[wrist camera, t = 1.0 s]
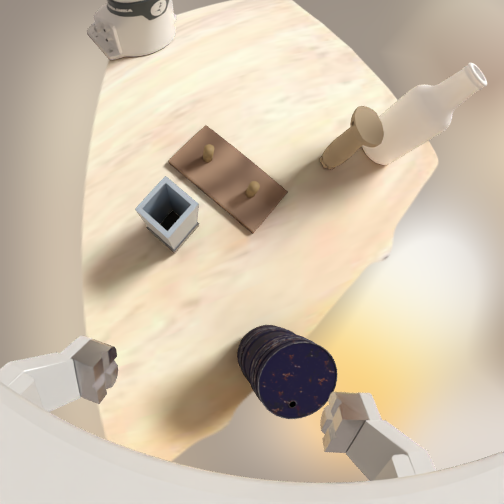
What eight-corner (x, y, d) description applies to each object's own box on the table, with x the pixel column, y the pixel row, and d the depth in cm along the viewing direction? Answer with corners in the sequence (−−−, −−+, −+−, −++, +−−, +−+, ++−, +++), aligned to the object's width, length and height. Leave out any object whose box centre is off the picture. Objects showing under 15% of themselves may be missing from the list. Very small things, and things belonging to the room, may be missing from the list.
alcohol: (354, 127, 54) (448, 40, 24) (386, 130, 55) (480, 58, 26) (365, 166, 53) (477, 91, 24) (397, 166, 55) (504, 105, 26)
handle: (337, 149, 52) (379, 111, 37) (339, 180, 51) (386, 147, 37) (314, 144, 51) (352, 102, 36) (315, 176, 50) (357, 140, 36)
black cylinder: (245, 317, 45) (270, 332, 31) (302, 330, 47) (347, 347, 32) (229, 376, 44) (247, 414, 29) (287, 386, 45) (323, 422, 31)
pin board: (168, 163, 45) (167, 151, 41) (205, 128, 47) (207, 114, 43) (252, 233, 47) (259, 228, 43) (286, 193, 49) (294, 185, 44)
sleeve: (148, 230, 44) (132, 209, 31) (172, 203, 45) (165, 173, 32) (175, 253, 44) (168, 241, 32) (198, 226, 45) (201, 203, 33)
